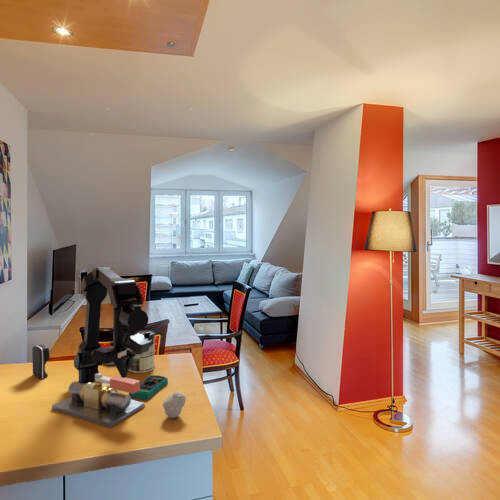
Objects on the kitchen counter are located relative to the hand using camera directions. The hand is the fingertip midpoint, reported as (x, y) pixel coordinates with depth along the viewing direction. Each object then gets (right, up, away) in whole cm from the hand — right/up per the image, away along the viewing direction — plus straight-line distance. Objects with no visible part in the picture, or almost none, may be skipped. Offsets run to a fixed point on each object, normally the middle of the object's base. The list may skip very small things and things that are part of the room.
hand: (123, 377), depth 108 cm
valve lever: (-4, -4, +4) cm, 7 cm away
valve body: (-10, -12, +8) cm, 18 cm away
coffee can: (-7, -11, +41) cm, 43 cm away
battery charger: (-42, -11, +32) cm, 54 cm away
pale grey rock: (+14, -13, +3) cm, 19 cm away
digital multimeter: (+2, -12, +21) cm, 25 cm away
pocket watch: (-20, -10, +48) cm, 53 cm away
